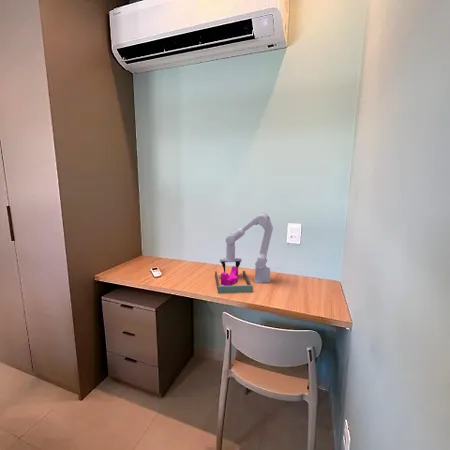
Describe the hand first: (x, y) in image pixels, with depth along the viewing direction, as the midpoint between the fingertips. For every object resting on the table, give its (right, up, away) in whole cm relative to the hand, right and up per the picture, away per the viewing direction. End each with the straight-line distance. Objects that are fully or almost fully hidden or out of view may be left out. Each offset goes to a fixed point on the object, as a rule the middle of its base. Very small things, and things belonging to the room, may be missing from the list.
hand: (230, 272), depth 182 cm
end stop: (+2, -8, -23) cm, 24 cm away
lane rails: (+1, -5, -9) cm, 10 cm away
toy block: (+1, -5, -8) cm, 9 cm away
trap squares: (0, -3, +1) cm, 3 cm away
